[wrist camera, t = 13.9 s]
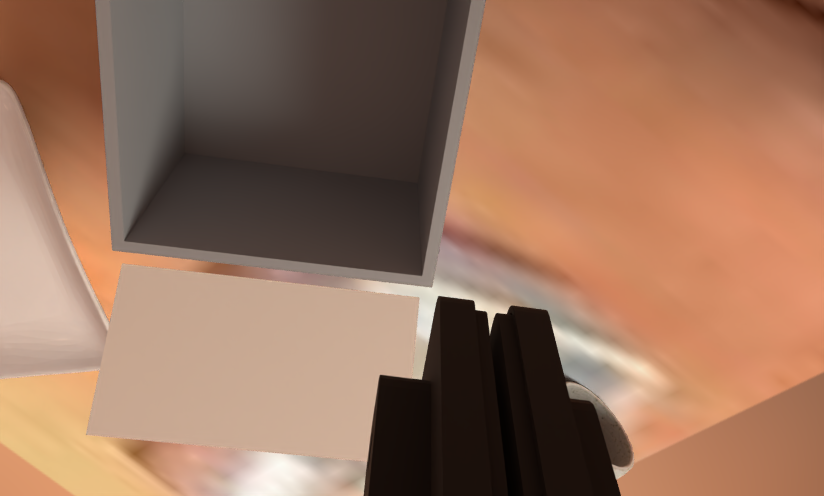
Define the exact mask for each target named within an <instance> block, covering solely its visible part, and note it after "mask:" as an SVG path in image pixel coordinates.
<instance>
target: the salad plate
mask: <svg viewBox="0 0 824 496" xmlns="http://www.w3.org/2000/svg"><path fill="white" fill-rule="evenodd" d="M108 328H109V321H108V319H107V317H106V314H105V312H104V310H103V308H102V306H101V304H100V302H99V300H98V298H97V296H96V294H95V292H94V290H93V288H92V286H91V284H90V281H89V279H88V277H87V275H86V273H85V270H84V268H83V266H82V264H81V262H80V259H79V257H78V255H77V253H76V250H75V248H74V246H73V243H72V241H71V239H70V236H69V234H68V231H67V229H66V226H65V223H64V221H63V218H62V216H61V213H60V210H59V208H58V205H57V202H56V200H55V197H54V194H53V191H52V188H51V186H50V183H49V180H48V177H47V174H46V171H45V168H44V166H43V163H42V160H41V157H40V154H39V151H38V148H37V146H36V143H35V140H34V137H33V134H32V131H31V128H30V126H29V123H28V121H27V118H26V115H25V113H24V110H23V108H22V105H21V103H20V101H19V98H18V96H17V94H16V92H15V91H14V89H13V88H12V87H11V86H10V85H9V84H8V83H7V82H5V81H4V80H1V79H0V379H7V378H19V377H29V376H40V375H52V374H66V373H78V372H88V371H97V370H100V366H101V361H102V356H103V352H104V347H105V342H106V337H107V333H108Z"/></svg>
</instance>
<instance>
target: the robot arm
mask: <svg viewBox="0 0 824 496" xmlns="http://www.w3.org/2000/svg"><path fill="white" fill-rule="evenodd" d="M364 496H621V494H620V491H619V487H618V484H617V480H616V477H615V473H614V470H613V466H612V463H611V459H610V456H609V453H608V449H607V446H606V442H605V439H604V435H603V432H602V428H601V425H600V422H599V418H598V415H597V411H596V409H595V407H594V404H593V403H591V402H590V401H587V400H579V399H571V398H570V397H569V393H568V389H567V385H566V381H565V377H564V373H563V369H562V365H561V361H560V357H559V353H558V349H557V345H556V341H555V337H554V333H553V329H552V325H551V321H550V317H549V314H548V311H546V310H542V309H534V308H527V307H519V306H511V307H510V308H509V310H508V312H507V314H500V313H497V314H496V315H495V317H494V320H493V324H492V329H491V333H490V334H489V325H488V317H487V312H485V311H477V310H475V303H474V301H473V300H465V299H458V298H450V297H442V296H439V297H438V299H437V302H436V307H435V312H434V318H433V323H432V329H431V334H430V339H429V345H428V350H427V355H426V361H425V366H424V372H423V377H422V380H419V379H411V378H403V377H395V376H387V375H380V376H379V381H378V387H377V394H376V400H375V407H374V414H373V421H372V428H371V436H370V444H369V452H368V460H367V469H366V479H365V488H364Z"/></svg>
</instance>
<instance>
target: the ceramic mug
mask: <svg viewBox="0 0 824 496" xmlns="http://www.w3.org/2000/svg"><path fill="white" fill-rule="evenodd" d="M566 385H567V389H568V393H569V397H570V398H571V399H579V400H587V401H590V402H591V403H593V404H594V407H595V409H596V411H597V415H598V418H599V422H600V425H601V428H602V432H603V435H604V439H605V442H606V446H607V449H608V453H609V456H610V459H611V463H612V466H613V470H614V473H615V477H616V479H618V478H620V477H621V476H623V475H624V474H626V473H627V472H628V471H629V470H630V469H631V468H632V467H633V463H634V453H633V449H632V445H631V443H630V441H629V439H628V436H627V434H626V433H625V431H624V429H623V427H622V425H621V424H620V423H619V421H618V420H617V418H616V417H615V415H614V414H613V413H612V412H611V411H610V409H609V408H608V407H607V406H606V405H605V404H604V402H603V401H601V400H600V399H599V398H598V397H597V396H596V395H594V394H593V393H592V392H591V391H590V390H588V389H586V388H585V387H583V386H581V385H580V384H577V383H574V382H566Z"/></svg>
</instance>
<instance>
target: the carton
mask: <svg viewBox="0 0 824 496" xmlns="http://www.w3.org/2000/svg"><path fill="white" fill-rule="evenodd" d="M485 2H486V0H95V6H96V21H97V36H98V50H99V65H100V79H101V94H102V109H103V123H104V138H105V153H106V167H107V182H108V197H109V211H110V226H111V240H112V250H113V251H122V252H130V253H139V254H148V255H156V256H165V257H173V258H182V259H191V260H199V261H208V262H217V263H225V264H234V265H243V266H251V267H260V268H268V269H277V270H286V271H294V272H303V273H312V274H320V275H329V276H338V277H346V278H355V279H363V280H372V281H381V282H389V283H398V284H407V285H415V286H424V287H432V285H433V280H434V274H435V269H436V264H437V258H438V253H439V248H440V242H441V237H442V232H443V226H444V221H445V216H446V210H447V205H448V200H449V194H450V189H451V184H452V178H453V173H454V168H455V162H456V157H457V152H458V146H459V141H460V136H461V130H462V125H463V120H464V114H465V109H466V104H467V98H468V93H469V88H470V82H471V77H472V72H473V66H474V61H475V56H476V50H477V45H478V40H479V34H480V29H481V24H482V18H483V13H484V8H485Z"/></svg>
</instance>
